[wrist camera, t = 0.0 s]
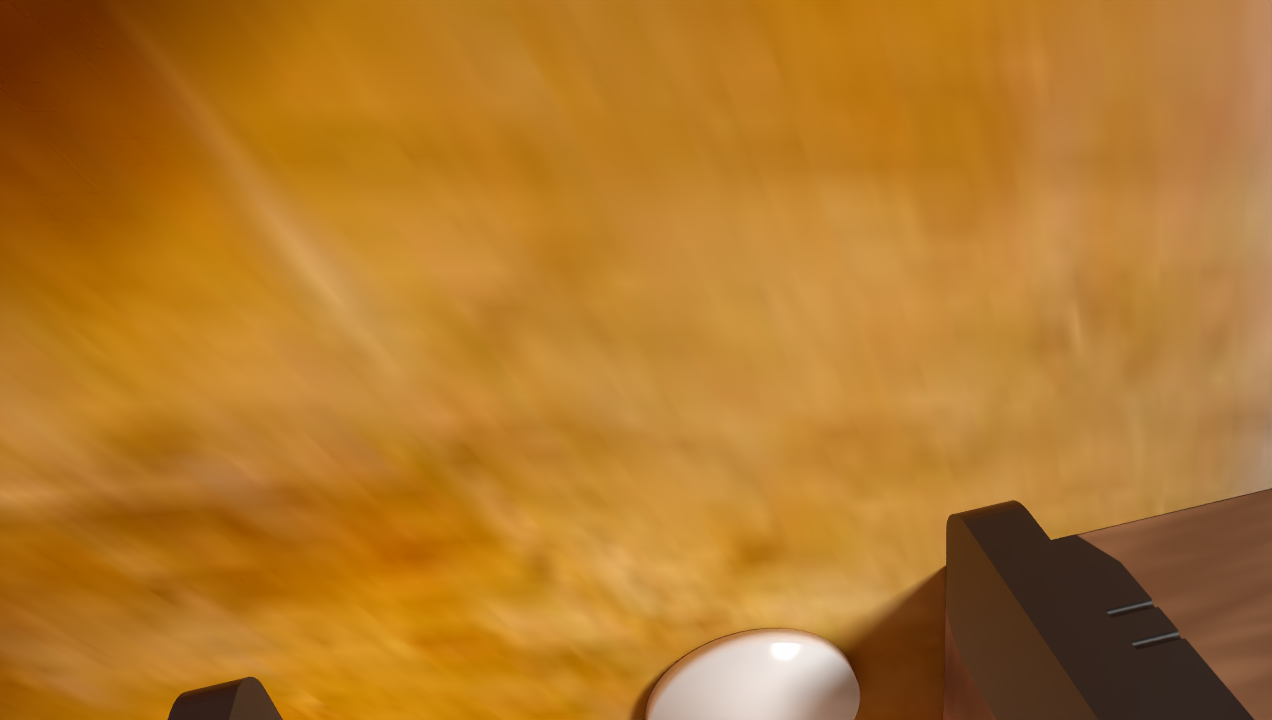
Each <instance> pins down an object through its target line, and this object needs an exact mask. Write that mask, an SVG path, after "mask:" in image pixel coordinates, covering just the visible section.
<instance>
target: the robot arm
mask: <svg viewBox="0 0 1272 720" xmlns="http://www.w3.org/2000/svg"><path fill="white" fill-rule="evenodd" d="M946 607H947V616H948V621H949V625H950V629H951V633H952V636H953V639H954V642H955V645H956V647H957V650H958V652H959V654H960V656H961V658H962V660H963V662H964V664H965V666H966V668H967V669H968V671H969V673H970V675H971V676H972V678H973V680H974V682H975V684H976V685H977V687H978V689H979V691H980V692H981V694H982V696H983V698H984V699H985V701H986V703H987V705H988V706H989V708H990V710H991V712H992V714H993V715H994V717H995V719H996V720H1254V718H1253V717H1252V716H1251V715H1250V714H1249V713H1248V711H1247V710H1246V709H1245V708H1244V707H1243V705H1242V704H1241V703H1240V702H1239V701H1238V700H1237V698H1236V697H1235V696H1234V695H1233V694H1232V693H1231V691H1230V690H1229V689H1228V688H1227V687H1226V685H1225V684H1224V683H1223V682H1222V681H1221V680H1220V678H1219V677H1218V676H1217V675H1216V674H1215V673H1214V671H1213V670H1212V669H1211V668H1210V667H1209V665H1208V664H1207V663H1206V662H1205V661H1204V660H1203V658H1202V657H1201V656H1200V655H1199V654H1198V653H1197V651H1196V650H1195V649H1194V648H1193V647H1192V645H1191V644H1190V643H1189V642H1188V641H1187V640H1186V638H1184V639H1182V638H1181V637H1180V635H1179V632H1178V629H1177V628H1176V627H1175V625H1174V624H1173V623H1172V622H1171V621H1170V620H1169V618H1168V617H1167V616H1166V615H1165V614H1164V613H1163V611H1162V610H1161V609H1160V608H1159V607H1155V606H1154V605H1153V602H1152V598H1151V597H1150V596H1149V595H1148V594H1147V593H1146V591H1145V590H1144V589H1143V588H1142V587H1141V585H1140V584H1139V583H1138V582H1137V581H1136V580H1135V578H1134V577H1133V576H1132V575H1131V574H1130V573H1129V571H1128V570H1127V569H1126V568H1125V567H1124V565H1123V564H1122V563H1121V562H1120V561H1118V560H1116V559H1115V558H1113V557H1112V556H1110V555H1108V554H1107V553H1105V552H1103V551H1102V550H1100V549H1099V548H1097V547H1095V546H1094V545H1092V544H1090V543H1089V542H1087V541H1086V540H1084V539H1082V538H1081V537H1079V536H1078V535H1076V534H1075V535H1071V536H1067V537H1062V538H1058V539H1054V540H1050V538H1049V537H1048V536H1047V535H1046V533H1045V532H1044V531H1043V529H1042V528H1041V527H1040V526H1039V524H1038V523H1037V522H1036V520H1035V519H1034V518H1033V517H1032V515H1031V514H1030V513H1029V511H1028V510H1027V509H1026V508H1025V507H1024V506H1023V505H1022V504H1021V503H1019V502H1017V501H1014V500H1012V501H1008V502H1004V503H999V504H995V505H991V506H987V507H982V508H978V509H974V510H969V511H965V512H961V513H957V514H952V515H950V516H949V518H948V520H947V528H946ZM168 720H283V719H282V718H281V716H280V714H279V712H278V711H277V709H276V707H275V706H274V704H273V702H272V700H271V699H270V697H269V695H268V694H267V692H266V690H265V688H264V687H263V685H262V684H261V683H260V682H259V681H258V680H257V679H256V678H254V677H247V678H243V679H239V680H234V681H230V682H226V683H221V684H217V685H213V686H209V687H204V688H200V689H196V690H192V691H187V692H184V693H182V694H181V695H180V696H179V697H178V698H177V699H176V701H175V702H174V704H173V707H172V709H171V712H170V714H169V717H168Z"/></svg>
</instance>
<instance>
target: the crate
mask: <svg viewBox="0 0 1272 720" xmlns="http://www.w3.org/2000/svg"><path fill="white" fill-rule="evenodd" d="M1078 536H1079V537H1081V538H1082V539H1084V540H1086V541H1087V542H1089V543H1090V544H1092V545H1094V546H1095V547H1097V548H1099V549H1100V550H1102V551H1103V552H1105V553H1107V554H1108V555H1110V556H1112V557H1113V558H1115V559H1116V560H1118V561H1120V562H1121V563H1122V564H1123V565H1124V567H1125V568H1126V569H1127V570H1128V571H1129V573H1130V574H1131V575H1132V576H1133V577H1134V578H1135V580H1136V581H1137V582H1138V583H1139V584H1140V585H1141V587H1142V588H1143V589H1144V590H1145V591H1146V593H1147V594H1148V595H1149V596H1150V597H1151V598H1152V602H1153V605H1154V606H1155V607H1159V608H1160V609H1161V610H1162V611H1163V613H1164V614H1165V615H1166V616H1167V617H1168V618H1169V620H1170V621H1171V622H1172V623H1173V624H1174V625H1175V627H1176V628H1177V629H1178V632H1179V635H1180V637H1181V638H1182V639H1184V638H1186V640H1187V641H1188V642H1189V643H1190V644H1191V645H1192V647H1193V648H1194V649H1195V650H1196V651H1197V653H1198V654H1199V655H1200V656H1201V657H1202V658H1203V660H1204V661H1205V662H1206V663H1207V664H1208V665H1209V667H1210V668H1211V669H1212V670H1213V671H1214V673H1215V674H1216V675H1217V676H1218V677H1219V678H1220V680H1221V681H1222V682H1223V683H1224V684H1225V685H1226V687H1227V688H1228V689H1229V690H1230V691H1231V693H1232V694H1233V695H1234V696H1235V697H1236V698H1237V700H1238V701H1239V702H1240V703H1241V704H1242V705H1243V707H1244V708H1245V709H1246V710H1247V711H1248V713H1249V714H1250V715H1251V716H1252V717H1253V718H1254V720H1272V489H1270V490H1266V491H1262V492H1258V493H1253V494H1249V495H1245V496H1241V497H1236V498H1232V499H1228V500H1224V501H1219V502H1215V503H1211V504H1207V505H1203V506H1198V507H1194V508H1190V509H1186V510H1181V511H1177V512H1173V513H1169V514H1164V515H1160V516H1156V517H1152V518H1148V519H1143V520H1139V521H1135V522H1131V523H1126V524H1122V525H1118V526H1114V527H1109V528H1105V529H1101V530H1097V531H1093V532H1088V533H1084V534H1080V535H1078ZM943 720H996V719H995V717H994V715H993V714H992V712H991V710H990V708H989V706H988V705H987V703H986V701H985V699H984V698H983V696H982V694H981V692H980V691H979V689H978V687H977V685H976V684H975V682H974V680H973V678H972V676H971V675H970V673H969V671H968V669H967V668H966V666H965V664H964V662H963V660H962V658H961V656H960V654H959V652H958V650H957V647H956V645H955V642H954V639H953V636H952V633H951V629H950V625H949V621H948V616H947V607H946V616H945V661H944V705H943Z"/></svg>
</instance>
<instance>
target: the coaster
mask: <svg viewBox="0 0 1272 720" xmlns="http://www.w3.org/2000/svg"><path fill="white" fill-rule="evenodd" d="M859 703H860V690H859V684H858V682H857V679H856V677H855V674H854V672H853V670H852V667H851V665H850V662H849V660H848V659H847V657H846V656H845V654H844V653H843V652H842V651H841V650H840V649H839V648H838V647H837V646H836V645H834V644H833V643H831V642H830V641H828V640H826V639H824V638H822V637H820V636H818V635H815V634H812V633H809V632H805V631H800V630H795V629H785V628H766V629H756V630H750V631H744V632H739V633H736V634H732V635H729V636H725V637H722V638H720V639H717V640H714V641H712V642H710V643H708V644H705V645H703V646H701V647H699V648H697V649H696V650H694V651H692V652H691V653H689V654H687V655H686V656H684V657H683V658H682V659H680V660H679V661H678V662H676V663H675V664H674V665H673V666H672V667H671V668H670V669H669V670H668V671H667V672H666V673H665V674H664V675H663V676H662V677H661V679H660V680H659V681H658V682H657V684H656V685H655V687H654V689H653V690H652V692H651V695H650V697H649V699H648V702H647V706H646V714H645V720H854V719H855V716H856V714H857V712H858V708H859Z"/></svg>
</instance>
